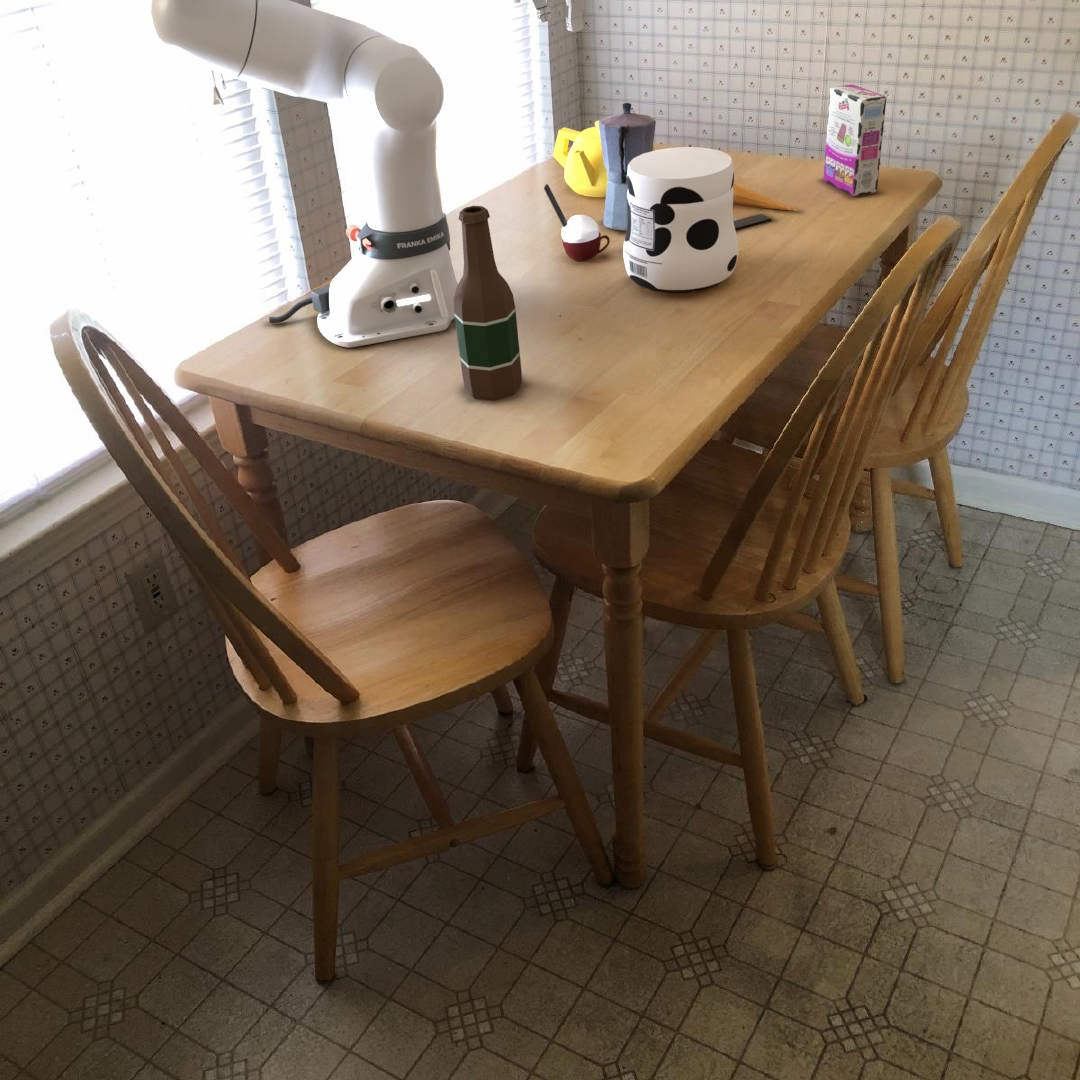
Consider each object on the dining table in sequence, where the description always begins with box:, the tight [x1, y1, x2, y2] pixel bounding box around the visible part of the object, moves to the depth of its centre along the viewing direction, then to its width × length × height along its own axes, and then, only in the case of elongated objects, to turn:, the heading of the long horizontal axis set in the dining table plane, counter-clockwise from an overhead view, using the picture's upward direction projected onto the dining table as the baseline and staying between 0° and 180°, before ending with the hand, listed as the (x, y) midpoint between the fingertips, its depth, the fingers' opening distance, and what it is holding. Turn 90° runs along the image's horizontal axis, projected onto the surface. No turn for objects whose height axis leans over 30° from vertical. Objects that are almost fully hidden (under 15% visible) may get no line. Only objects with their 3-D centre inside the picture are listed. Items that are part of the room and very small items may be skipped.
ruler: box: [733, 213, 772, 231], centre depth 187 cm, size 26×3×1 cm, turn 116°
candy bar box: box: [822, 84, 888, 197], centre depth 196 cm, size 11×5×16 cm, turn 17°
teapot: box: [552, 119, 656, 198], centre depth 209 cm, size 17×17×12 cm
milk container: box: [622, 146, 739, 294], centre depth 167 cm, size 17×17×18 cm
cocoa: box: [543, 183, 611, 262], centre depth 180 cm, size 10×6×12 cm, turn 55°
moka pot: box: [598, 102, 657, 231], centre depth 188 cm, size 10×15×20 cm, turn 174°
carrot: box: [733, 183, 798, 211], centre depth 197 cm, size 20×4×4 cm, turn 54°
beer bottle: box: [454, 205, 523, 402], centre depth 141 cm, size 8×8×24 cm
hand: (559, 25), depth 155 cm, fingers open, 8 cm apart
